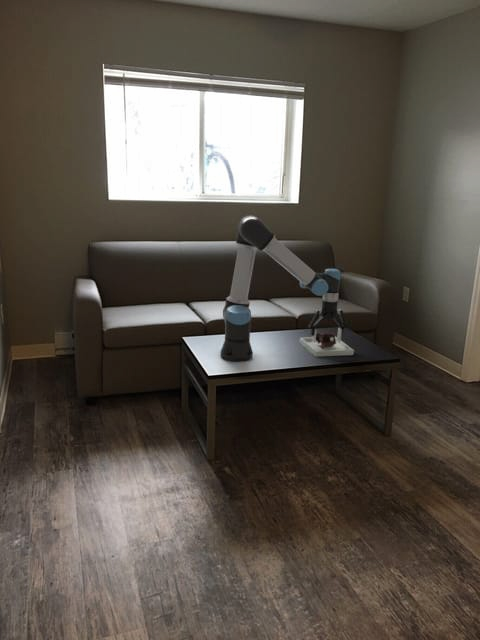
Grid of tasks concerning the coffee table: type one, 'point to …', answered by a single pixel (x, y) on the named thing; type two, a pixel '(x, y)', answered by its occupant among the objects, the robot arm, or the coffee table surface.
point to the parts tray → (335, 350)
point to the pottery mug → (325, 340)
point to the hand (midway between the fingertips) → (326, 341)
